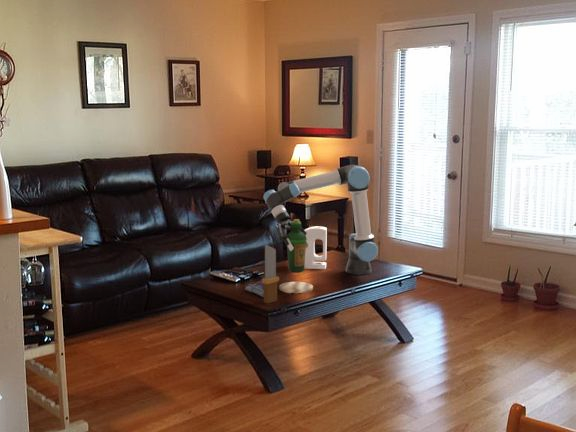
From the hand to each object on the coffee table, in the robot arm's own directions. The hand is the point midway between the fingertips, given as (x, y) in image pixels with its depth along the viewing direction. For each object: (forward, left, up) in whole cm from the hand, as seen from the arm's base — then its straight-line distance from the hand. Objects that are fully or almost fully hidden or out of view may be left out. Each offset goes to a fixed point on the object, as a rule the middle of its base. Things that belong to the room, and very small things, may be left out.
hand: (300, 248), depth 349 cm
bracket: (-7, -49, -23) cm, 55 cm away
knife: (+15, +20, -23) cm, 34 cm away
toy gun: (+19, +4, -24) cm, 31 cm away
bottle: (+2, -2, -13) cm, 14 cm away
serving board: (+2, -2, -23) cm, 23 cm away
